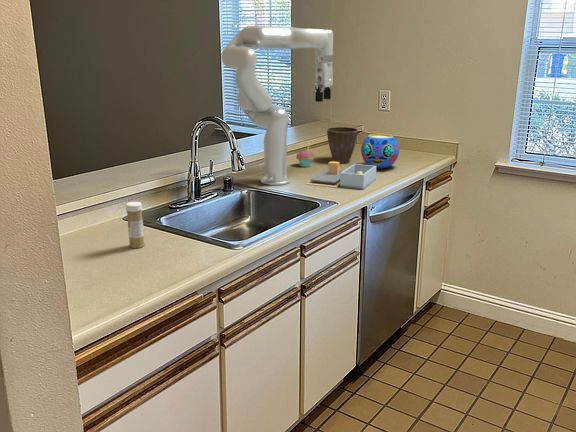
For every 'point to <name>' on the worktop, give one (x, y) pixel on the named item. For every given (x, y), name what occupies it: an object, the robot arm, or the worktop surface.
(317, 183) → the mat
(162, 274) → the worktop surface
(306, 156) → the cupcake
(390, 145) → the ceramic pot
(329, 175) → the lid
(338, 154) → the plant pot
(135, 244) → the sprinkles bottle
